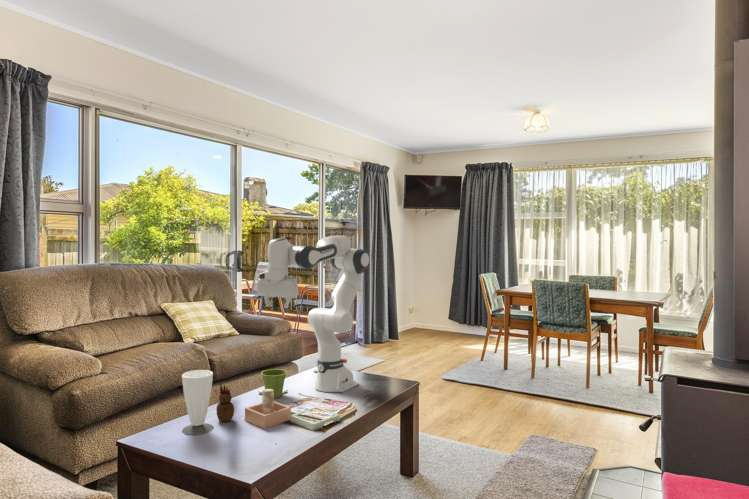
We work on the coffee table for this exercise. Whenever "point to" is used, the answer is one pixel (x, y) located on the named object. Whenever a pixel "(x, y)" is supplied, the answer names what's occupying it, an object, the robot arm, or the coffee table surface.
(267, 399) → the beech peg
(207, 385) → the cup
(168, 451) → the coffee table surface
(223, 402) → the wooden figurine
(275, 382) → the plant pot
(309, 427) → the sage tray
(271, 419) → the frame
